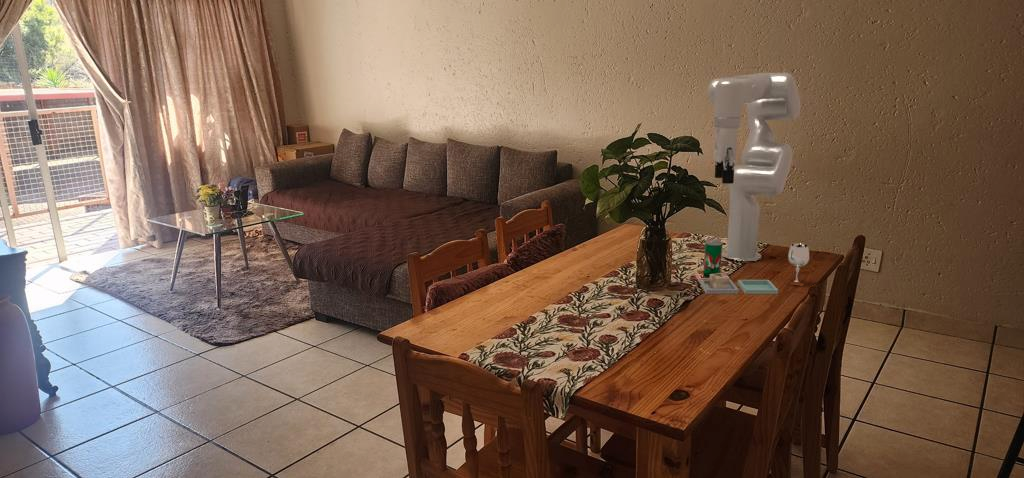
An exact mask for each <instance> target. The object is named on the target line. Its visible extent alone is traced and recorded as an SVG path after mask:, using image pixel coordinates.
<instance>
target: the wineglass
mask: <svg viewBox="0 0 1024 478" xmlns="http://www.w3.org/2000/svg"><path fill="white" fill-rule="evenodd" d="M787 259H788V262H789V263H790V264H791V265H792V266H794V267H796V268H795V280H793V281H794V282H799V279H798V278H799V277H798V275H799V272H800V267H803V266H805V265H807V264H808V263H809V261H810V248H809V245H808V244H806V243H799V242H797V243H791V244H790V247H789V249H788V254H787Z"/></svg>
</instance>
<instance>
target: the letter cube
mask: <svg viewBox="0 0 1024 478" xmlns="http://www.w3.org/2000/svg"><path fill="white" fill-rule="evenodd" d="M727 275H728V274H727ZM727 275H725V274H723V273H717V274H710V281H709V287H710V288H711V289H729V278H730V277H729V275H728V276H727Z"/></svg>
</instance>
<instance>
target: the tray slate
mask: <svg viewBox="0 0 1024 478" xmlns="http://www.w3.org/2000/svg"><path fill="white" fill-rule="evenodd" d="M709 281H710V280H700V283H699V285H700V284H701V285H700V286H701V288H702V289H703V291H704V293H705V294H706V295H739V288H738V287H737V285H736V284H735V282H733V281H732V279H730V280H729V289H711V288H710V287H709V285H707V286H706V284H709Z"/></svg>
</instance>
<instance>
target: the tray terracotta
mask: <svg viewBox="0 0 1024 478" xmlns="http://www.w3.org/2000/svg"><path fill="white" fill-rule="evenodd" d="M703 270H704V269H693V275H694V276H695V278H696V279H698V280H697V281H698V283H699V284H700V280H710V278H701V276H700V275H699V274H701V275H702V277H703ZM721 273H723V274H725V275H727V276H728V277H729V275H728V274H727V273H726V272H725V270H724V269H721ZM729 280H731V278H730V277H729Z"/></svg>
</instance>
